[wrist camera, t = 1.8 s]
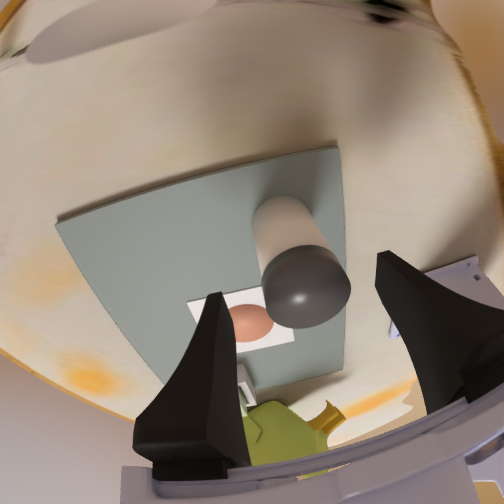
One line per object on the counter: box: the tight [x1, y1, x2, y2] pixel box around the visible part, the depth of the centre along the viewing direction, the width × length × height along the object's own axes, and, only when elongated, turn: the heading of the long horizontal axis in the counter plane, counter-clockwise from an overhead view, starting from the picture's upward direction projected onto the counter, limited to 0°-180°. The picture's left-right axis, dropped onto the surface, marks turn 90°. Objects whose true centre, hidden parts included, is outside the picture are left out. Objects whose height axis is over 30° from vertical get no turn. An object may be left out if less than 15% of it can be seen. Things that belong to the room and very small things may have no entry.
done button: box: [238, 386, 248, 417], centre depth 26 cm, size 3×3×2 cm
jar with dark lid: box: [251, 196, 351, 329], centre depth 15 cm, size 4×4×7 cm
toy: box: [242, 400, 346, 478], centre depth 30 cm, size 6×17×20 cm
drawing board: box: [54, 146, 346, 407], centre depth 22 cm, size 18×23×2 cm
